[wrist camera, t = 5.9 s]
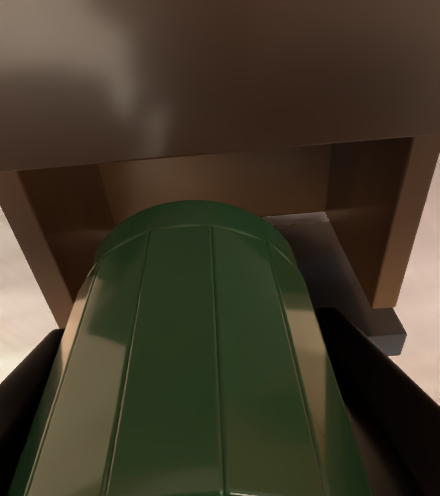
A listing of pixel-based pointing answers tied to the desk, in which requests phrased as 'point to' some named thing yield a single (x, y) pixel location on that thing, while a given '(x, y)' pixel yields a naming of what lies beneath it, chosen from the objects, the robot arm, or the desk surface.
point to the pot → (192, 370)
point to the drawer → (253, 200)
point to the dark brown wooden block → (210, 77)
